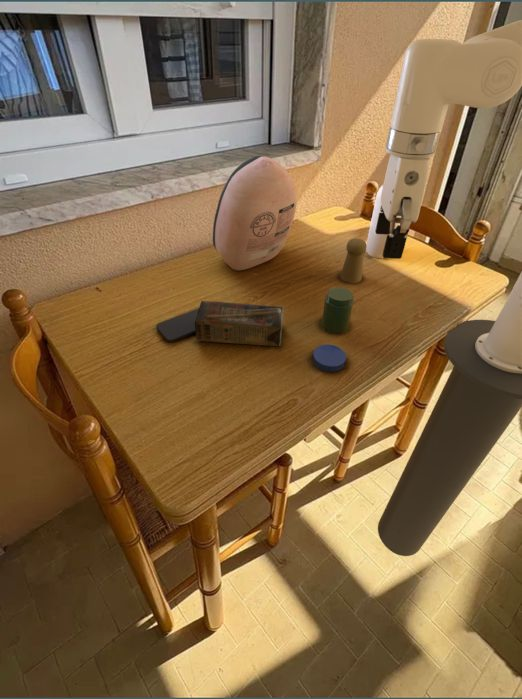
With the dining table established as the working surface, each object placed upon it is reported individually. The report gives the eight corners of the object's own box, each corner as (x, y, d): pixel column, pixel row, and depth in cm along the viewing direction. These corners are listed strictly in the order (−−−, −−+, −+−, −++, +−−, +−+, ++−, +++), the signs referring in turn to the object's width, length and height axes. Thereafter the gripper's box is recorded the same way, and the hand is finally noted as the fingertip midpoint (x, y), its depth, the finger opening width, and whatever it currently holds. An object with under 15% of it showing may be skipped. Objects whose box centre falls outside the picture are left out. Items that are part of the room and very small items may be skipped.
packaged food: (262, 241, 123) (264, 138, 104) (304, 265, 112) (315, 154, 92) (205, 261, 113) (195, 151, 93) (245, 290, 102) (243, 171, 82)
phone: (226, 318, 91) (168, 341, 84) (226, 320, 91) (169, 344, 84) (210, 303, 95) (154, 324, 88) (210, 306, 96) (155, 327, 89)
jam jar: (352, 322, 91) (359, 291, 85) (342, 337, 87) (348, 305, 81) (327, 314, 94) (332, 283, 88) (316, 327, 90) (321, 296, 84)
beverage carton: (281, 348, 84) (282, 325, 79) (195, 343, 85) (192, 319, 80) (282, 326, 90) (283, 303, 85) (201, 321, 91) (199, 298, 86)
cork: (357, 285, 104) (364, 247, 97) (336, 278, 106) (342, 242, 99) (364, 275, 108) (372, 239, 101) (344, 269, 110) (351, 233, 103)
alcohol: (360, 247, 121) (381, 143, 101) (386, 245, 123) (411, 141, 103) (371, 260, 115) (395, 151, 95) (398, 258, 116) (428, 150, 96)
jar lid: (328, 345, 85) (329, 340, 84) (352, 362, 81) (353, 356, 80) (305, 358, 82) (306, 353, 81) (329, 376, 78) (330, 371, 77)
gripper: (452, 158, 52) (417, 269, 63) (424, 130, 65) (399, 226, 76) (396, 156, 53) (372, 267, 64) (379, 128, 66) (361, 224, 77)
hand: (387, 245), depth 70 cm, fingers open, 9 cm apart
